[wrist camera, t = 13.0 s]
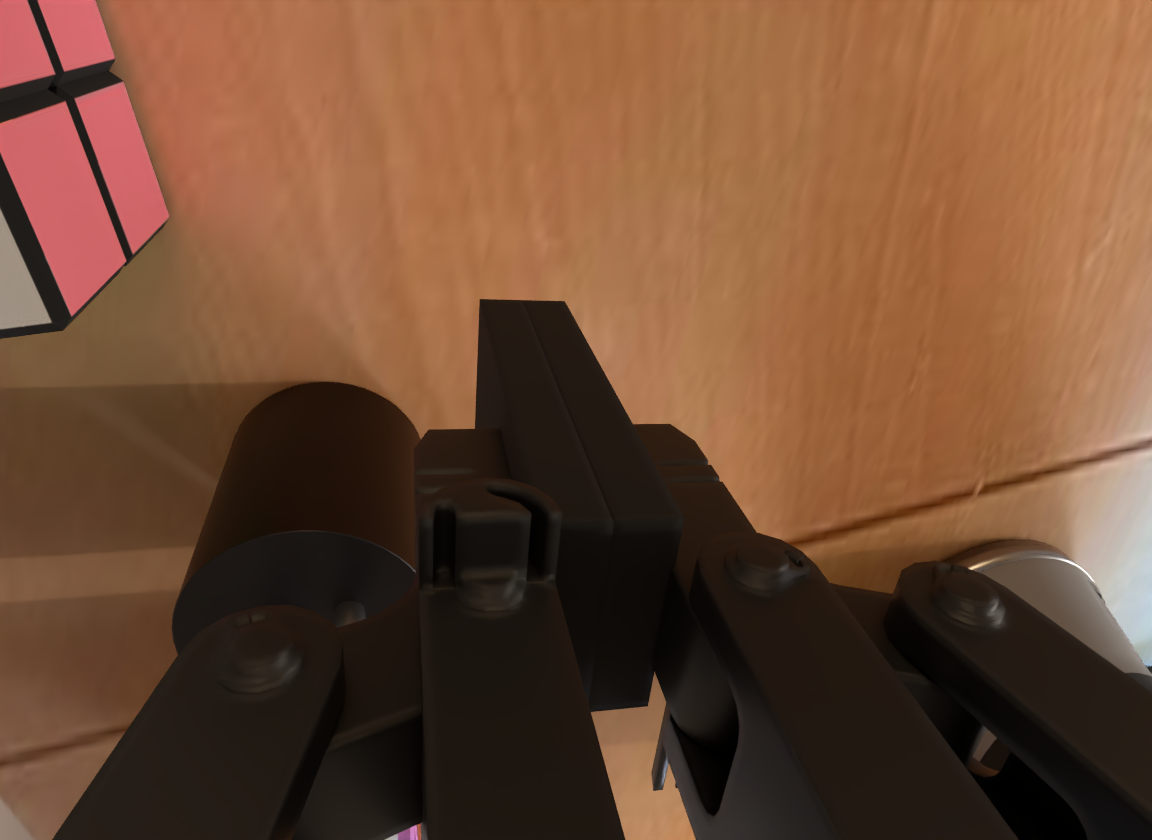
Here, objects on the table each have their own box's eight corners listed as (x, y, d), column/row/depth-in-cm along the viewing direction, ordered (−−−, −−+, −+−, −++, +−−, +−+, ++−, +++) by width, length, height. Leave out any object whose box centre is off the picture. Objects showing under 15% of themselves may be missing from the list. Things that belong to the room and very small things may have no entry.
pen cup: (425, 381, 32) (451, 689, 18) (424, 533, 35) (445, 885, 22) (219, 381, 30) (68, 726, 16) (241, 542, 34) (136, 934, 20)
